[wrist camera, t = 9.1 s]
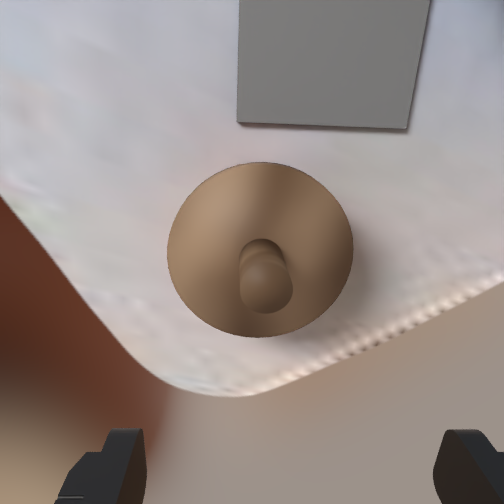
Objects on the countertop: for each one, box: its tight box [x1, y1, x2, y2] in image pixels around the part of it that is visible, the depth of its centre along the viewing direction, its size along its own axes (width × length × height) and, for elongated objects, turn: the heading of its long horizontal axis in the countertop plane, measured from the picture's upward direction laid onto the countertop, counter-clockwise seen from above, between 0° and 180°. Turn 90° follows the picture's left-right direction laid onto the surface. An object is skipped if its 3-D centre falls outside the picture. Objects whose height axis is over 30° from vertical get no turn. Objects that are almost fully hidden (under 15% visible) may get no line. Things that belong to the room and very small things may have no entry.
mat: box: [237, 0, 430, 129], centre depth 22 cm, size 11×9×1 cm
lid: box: [167, 162, 353, 338], centre depth 20 cm, size 11×11×5 cm
